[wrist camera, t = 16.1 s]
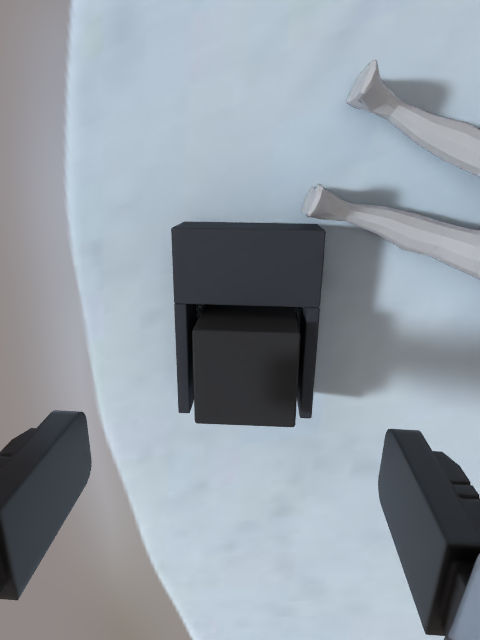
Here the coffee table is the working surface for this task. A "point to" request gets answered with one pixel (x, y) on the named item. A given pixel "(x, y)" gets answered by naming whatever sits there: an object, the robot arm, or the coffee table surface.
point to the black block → (246, 365)
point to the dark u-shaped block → (247, 285)
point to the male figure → (397, 225)
